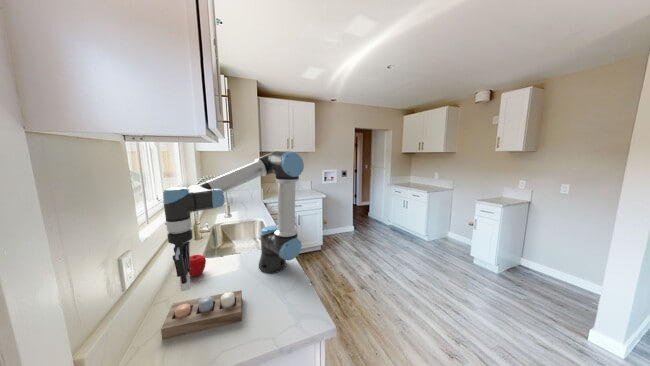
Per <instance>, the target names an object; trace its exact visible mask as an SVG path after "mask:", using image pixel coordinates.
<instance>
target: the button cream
mask: <svg viewBox="0 0 650 366" xmlns="http://www.w3.org/2000/svg"><path fill="white" fill-rule="evenodd" d="M232 292H233V291H228V292H225V294H224V293H222V294H223V295H222V296H221V306H222V308H221V309H224V308H229V307H233V306H235V297H234V293H232Z"/></svg>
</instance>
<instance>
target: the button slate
mask: <svg viewBox="0 0 650 366" xmlns="http://www.w3.org/2000/svg"><path fill="white" fill-rule="evenodd" d="M211 296H212V295H209V296H207V295H206V296H203V297H200V298H201V299H200V300H199V302H198V305H199V314H200V313H205V312H209V311H214V309H213V298H212V297H211Z"/></svg>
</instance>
